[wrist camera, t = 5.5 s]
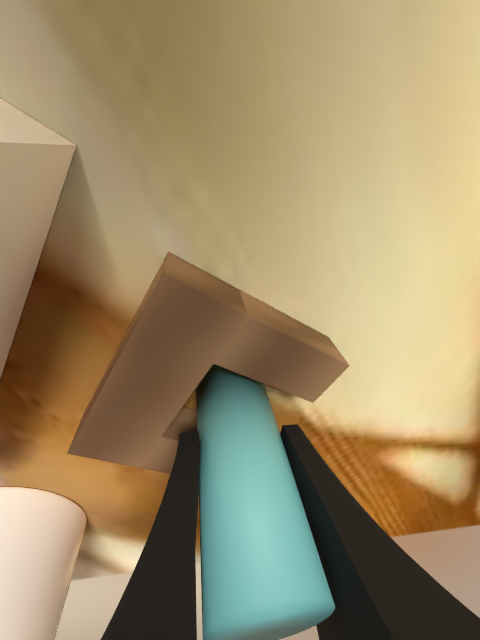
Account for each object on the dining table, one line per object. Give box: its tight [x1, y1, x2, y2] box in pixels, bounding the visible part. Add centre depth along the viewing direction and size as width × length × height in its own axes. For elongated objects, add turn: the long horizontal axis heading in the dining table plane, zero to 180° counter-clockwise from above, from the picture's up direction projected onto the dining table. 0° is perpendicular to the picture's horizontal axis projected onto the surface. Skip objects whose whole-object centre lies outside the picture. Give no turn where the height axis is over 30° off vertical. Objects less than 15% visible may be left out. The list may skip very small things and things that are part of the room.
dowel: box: [196, 364, 335, 640], centre depth 10 cm, size 3×3×8 cm
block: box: [67, 252, 349, 474], centre depth 12 cm, size 8×9×2 cm
